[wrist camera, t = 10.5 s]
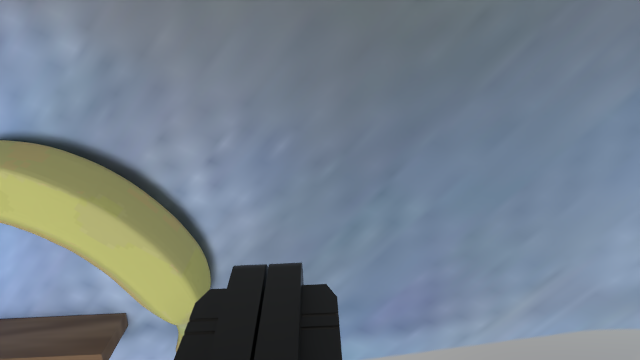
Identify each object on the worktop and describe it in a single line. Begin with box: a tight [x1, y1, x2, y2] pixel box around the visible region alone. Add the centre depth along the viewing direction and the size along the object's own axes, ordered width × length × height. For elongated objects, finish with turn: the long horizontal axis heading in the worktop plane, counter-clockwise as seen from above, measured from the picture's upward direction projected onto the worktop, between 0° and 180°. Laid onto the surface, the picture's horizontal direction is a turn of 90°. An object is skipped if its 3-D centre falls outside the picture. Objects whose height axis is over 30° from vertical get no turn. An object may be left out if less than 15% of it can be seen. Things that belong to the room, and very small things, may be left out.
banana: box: [0, 140, 211, 353], centre depth 34 cm, size 14×6×20 cm
